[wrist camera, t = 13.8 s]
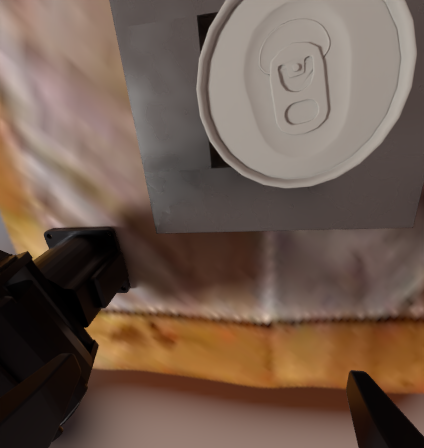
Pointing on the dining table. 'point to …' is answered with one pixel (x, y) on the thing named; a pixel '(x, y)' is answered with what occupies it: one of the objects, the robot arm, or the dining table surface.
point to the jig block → (220, 170)
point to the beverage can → (304, 84)
